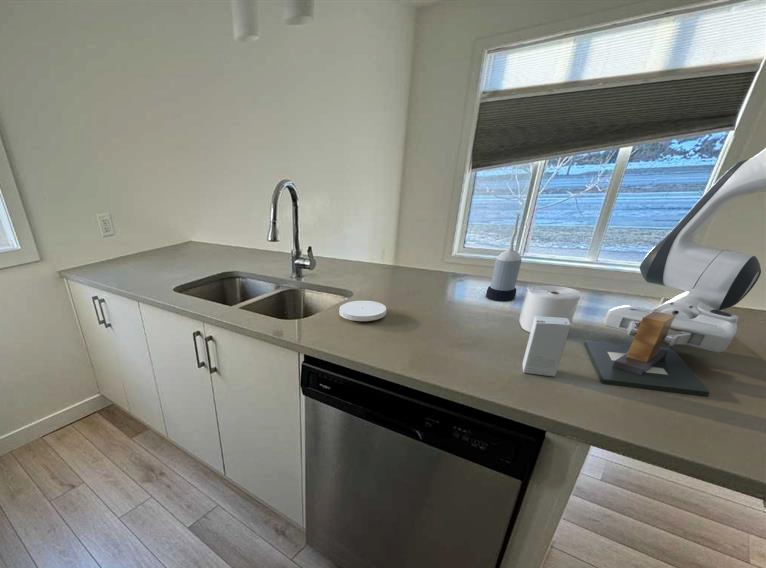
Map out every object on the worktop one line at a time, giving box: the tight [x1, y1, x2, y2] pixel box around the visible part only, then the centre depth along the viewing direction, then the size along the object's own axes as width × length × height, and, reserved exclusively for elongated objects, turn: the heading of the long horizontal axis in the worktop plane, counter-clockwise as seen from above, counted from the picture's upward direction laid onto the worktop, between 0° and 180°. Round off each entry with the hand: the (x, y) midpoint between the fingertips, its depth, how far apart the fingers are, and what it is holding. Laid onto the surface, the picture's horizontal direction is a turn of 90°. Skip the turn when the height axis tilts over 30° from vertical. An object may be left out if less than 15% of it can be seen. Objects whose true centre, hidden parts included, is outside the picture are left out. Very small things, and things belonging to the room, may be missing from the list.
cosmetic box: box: [522, 316, 572, 377], centre depth 86 cm, size 6×4×12 cm
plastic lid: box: [338, 300, 387, 322], centre depth 125 cm, size 14×14×2 cm
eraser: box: [612, 311, 675, 375], centre depth 84 cm, size 5×12×10 cm, turn 122°
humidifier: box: [485, 213, 526, 303], centre depth 123 cm, size 8×8×25 cm
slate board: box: [583, 339, 711, 397], centre depth 87 cm, size 16×20×1 cm
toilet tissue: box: [519, 284, 582, 334], centre depth 105 cm, size 11×12×10 cm
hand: (649, 336), depth 83 cm, fingers open, 5 cm apart
